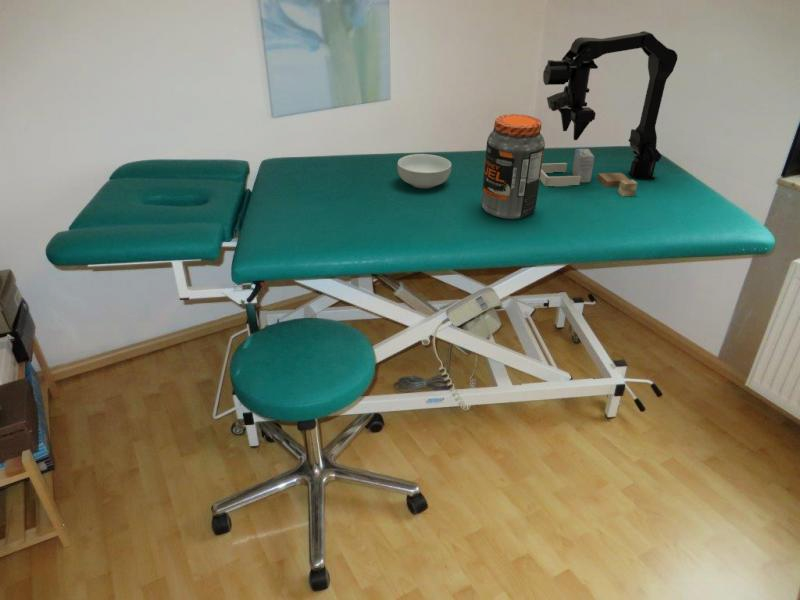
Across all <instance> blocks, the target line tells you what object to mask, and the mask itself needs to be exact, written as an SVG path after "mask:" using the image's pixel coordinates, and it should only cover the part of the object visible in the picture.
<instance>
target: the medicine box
mask: <svg viewBox="0 0 800 600" xmlns="http://www.w3.org/2000/svg"><path fill="white" fill-rule="evenodd" d="M594 164H595V156H594V154H593V153H592V151H591V150H590V149H589V148H576V149H575V151H574V158H573V162H572V170H571V176H581V178H580V183H591V180H592V174H593V170H594V169H593V168H594Z"/></svg>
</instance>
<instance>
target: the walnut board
mask: <svg viewBox="0 0 800 600" xmlns="http://www.w3.org/2000/svg"><path fill="white" fill-rule="evenodd" d="M596 180H597V181H598V182H599V183H600V184H602V185H603V186H604V187H605V188H619V186H620V181H621V180H631V179H630V178H628V176H626V175H625V174H624V173H623V172H605V173H604V172H603V173H599V172H598V173H597V178H596Z"/></svg>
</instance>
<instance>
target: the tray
mask: <svg viewBox="0 0 800 600" xmlns="http://www.w3.org/2000/svg"><path fill="white" fill-rule="evenodd" d="M567 168H568V163H567V162H560V163H559V162H556V163H555V162H554V163H553V162H552V163H550V162H549V163H542V167H541V174H540V180H541V181H540V182H541V183H542V185H543V186H546V188H548V187H547V186H555V187H572V186H571V185H579V186H580V184H581V182H580V178H581V176H573V175H562V176H558V175H557V176H548V174H554V173H553V172H563V173H566V172H567ZM569 185H570V186H569Z"/></svg>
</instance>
